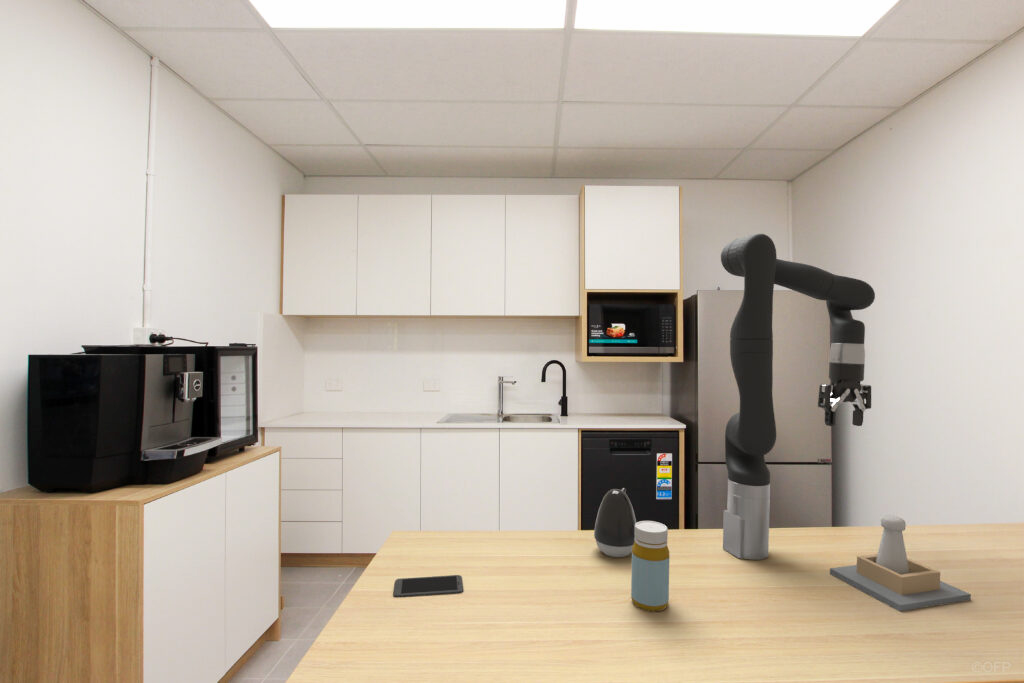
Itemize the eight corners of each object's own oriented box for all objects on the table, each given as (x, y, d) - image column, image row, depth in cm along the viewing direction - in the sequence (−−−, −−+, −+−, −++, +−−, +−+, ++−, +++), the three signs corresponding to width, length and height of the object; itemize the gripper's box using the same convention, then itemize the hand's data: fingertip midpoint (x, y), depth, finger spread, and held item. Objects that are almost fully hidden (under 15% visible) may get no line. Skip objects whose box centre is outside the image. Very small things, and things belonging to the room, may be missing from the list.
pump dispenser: (643, 550, 128) (644, 487, 127) (628, 566, 119) (629, 498, 119) (604, 540, 133) (605, 480, 133) (586, 555, 124) (587, 491, 124)
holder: (900, 611, 101) (900, 586, 101) (829, 573, 116) (830, 552, 116) (970, 600, 106) (971, 576, 105) (893, 565, 121) (894, 544, 121)
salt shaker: (914, 586, 109) (916, 523, 108) (883, 583, 110) (885, 520, 109) (899, 573, 114) (901, 513, 114) (870, 570, 115) (871, 511, 115)
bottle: (669, 597, 105) (670, 522, 105) (667, 615, 98) (668, 535, 98) (633, 591, 107) (634, 518, 107) (629, 608, 101) (630, 530, 100)
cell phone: (395, 582, 111) (395, 578, 111) (461, 578, 113) (461, 574, 113) (392, 599, 104) (392, 595, 104) (464, 594, 106) (464, 591, 106)
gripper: (836, 361, 128) (833, 428, 129) (882, 363, 132) (879, 428, 132) (811, 360, 136) (808, 423, 136) (856, 361, 139) (853, 422, 139)
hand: (843, 425), depth 134 cm, fingers open, 8 cm apart
